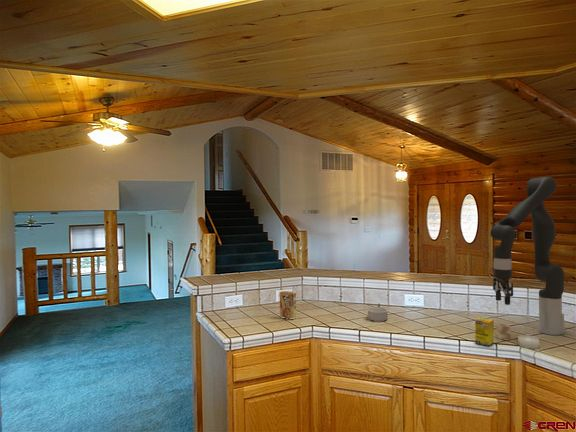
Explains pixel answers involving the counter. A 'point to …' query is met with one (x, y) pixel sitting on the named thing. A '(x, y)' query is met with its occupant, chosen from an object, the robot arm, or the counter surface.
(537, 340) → the white rounded lump
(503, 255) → the robot arm
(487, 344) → the supplement box
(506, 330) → the beech block
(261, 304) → the counter surface
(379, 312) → the saucepan
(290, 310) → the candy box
